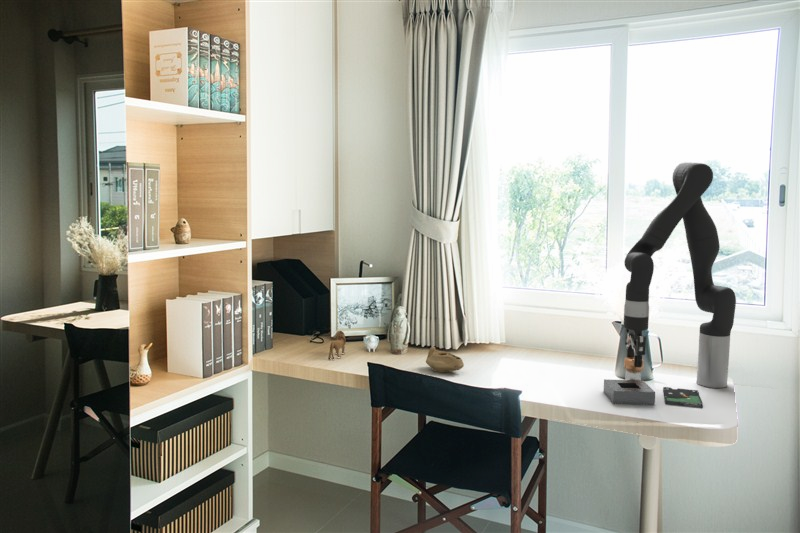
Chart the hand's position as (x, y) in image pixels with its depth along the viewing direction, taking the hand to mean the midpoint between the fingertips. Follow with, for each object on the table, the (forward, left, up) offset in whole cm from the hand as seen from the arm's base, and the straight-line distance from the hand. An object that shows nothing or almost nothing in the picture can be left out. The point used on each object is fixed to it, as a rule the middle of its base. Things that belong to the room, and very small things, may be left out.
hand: (634, 363), depth 209 cm
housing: (+13, -5, -9) cm, 16 cm away
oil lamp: (-16, -61, -9) cm, 64 cm away
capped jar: (0, 0, -9) cm, 9 cm away
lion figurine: (-34, -103, -9) cm, 109 cm away
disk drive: (+12, +11, -9) cm, 19 cm away
